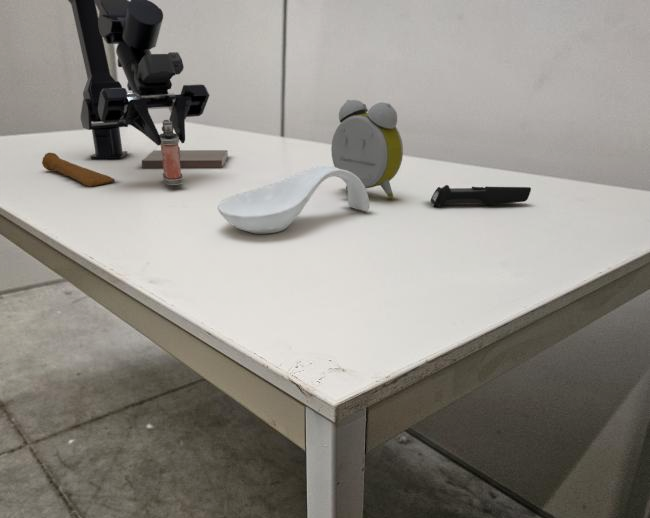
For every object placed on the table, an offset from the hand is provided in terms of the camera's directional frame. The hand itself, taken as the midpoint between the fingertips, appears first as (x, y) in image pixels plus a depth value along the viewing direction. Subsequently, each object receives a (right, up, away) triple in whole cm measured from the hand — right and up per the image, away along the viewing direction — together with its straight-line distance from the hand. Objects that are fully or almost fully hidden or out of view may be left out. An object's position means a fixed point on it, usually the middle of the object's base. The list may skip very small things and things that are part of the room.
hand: (171, 142), depth 106 cm
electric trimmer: (+51, -12, -7) cm, 53 cm away
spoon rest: (+22, -17, -17) cm, 32 cm away
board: (-3, +3, +24) cm, 24 cm away
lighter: (-1, -6, +4) cm, 7 cm away
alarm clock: (+33, -10, -2) cm, 34 cm away
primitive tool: (-20, -4, +10) cm, 23 cm away
